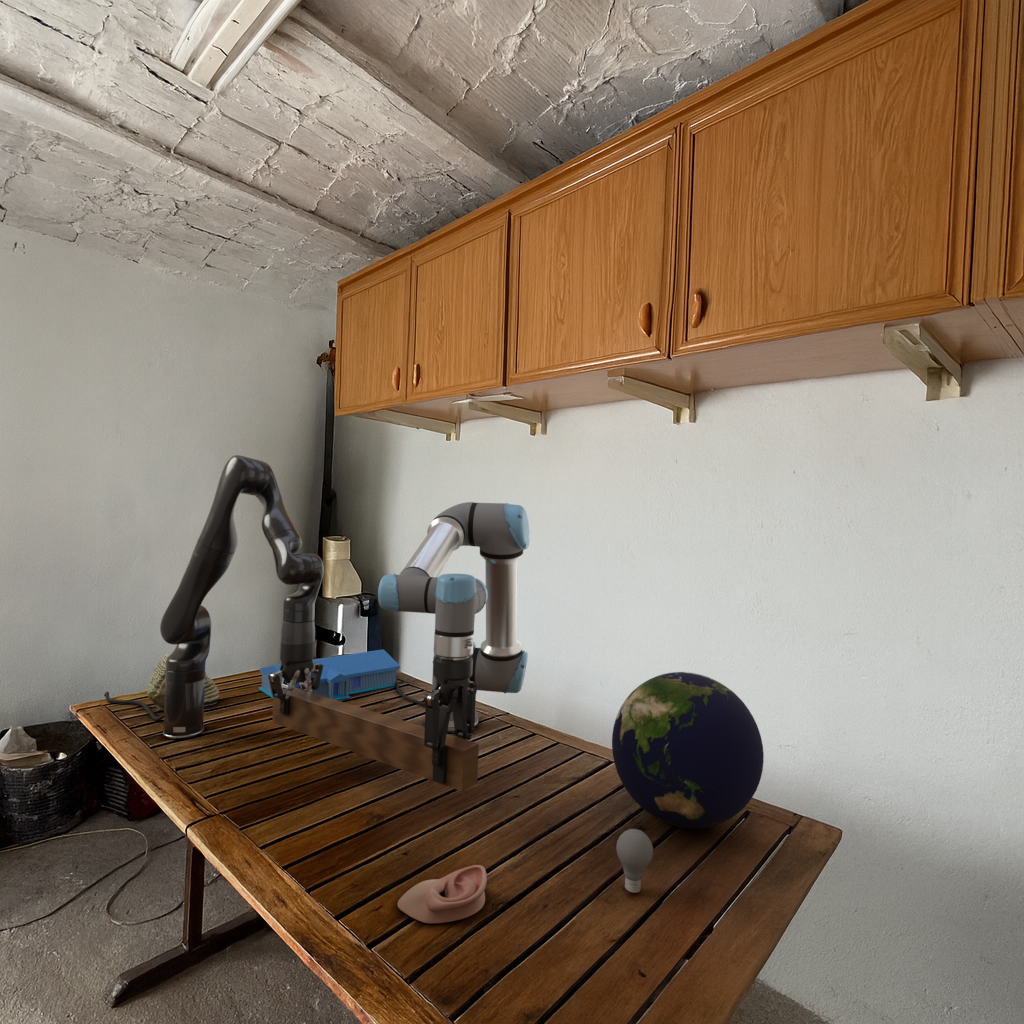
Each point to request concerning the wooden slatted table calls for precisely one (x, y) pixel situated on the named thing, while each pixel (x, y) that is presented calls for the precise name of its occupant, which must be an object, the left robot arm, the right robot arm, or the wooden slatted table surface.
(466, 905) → the anatomical model
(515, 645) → the right robot arm
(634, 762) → the globe
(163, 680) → the fossil
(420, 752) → the beam
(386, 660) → the model building
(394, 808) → the wooden slatted table surface
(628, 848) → the light bulb
